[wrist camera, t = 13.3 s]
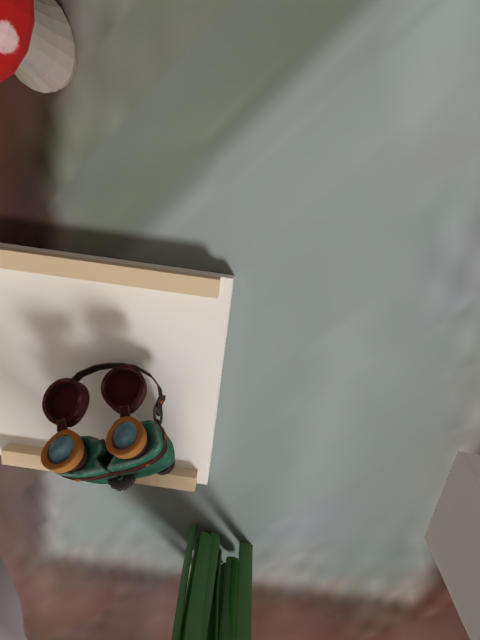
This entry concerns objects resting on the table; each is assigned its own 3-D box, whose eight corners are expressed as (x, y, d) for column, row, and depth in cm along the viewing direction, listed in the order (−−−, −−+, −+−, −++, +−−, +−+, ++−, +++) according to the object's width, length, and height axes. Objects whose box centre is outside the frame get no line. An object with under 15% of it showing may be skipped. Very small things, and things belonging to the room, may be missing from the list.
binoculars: (92, 399, 41) (92, 507, 36) (34, 356, 32) (24, 493, 27) (180, 380, 41) (192, 486, 36) (146, 331, 32) (157, 464, 27)
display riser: (-1, 242, 35) (-22, 246, 32) (234, 275, 35) (232, 281, 32) (8, 445, 41) (-9, 462, 38) (208, 474, 41) (205, 493, 38)
